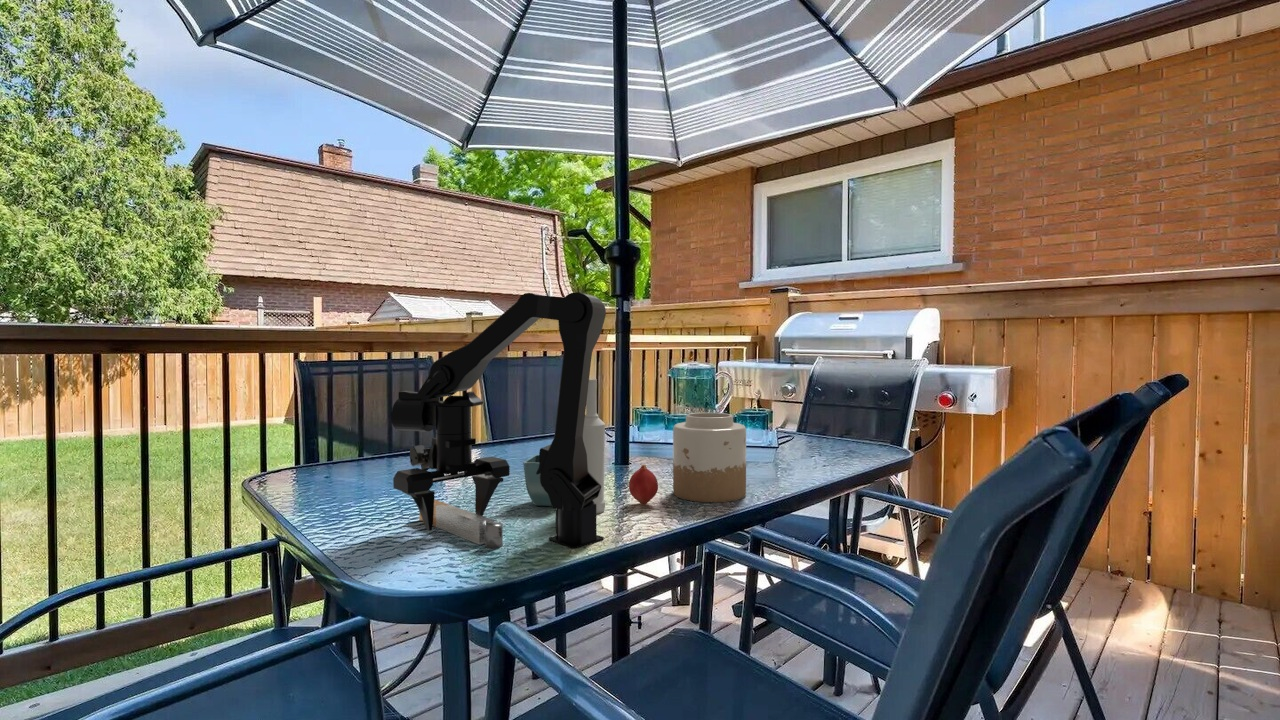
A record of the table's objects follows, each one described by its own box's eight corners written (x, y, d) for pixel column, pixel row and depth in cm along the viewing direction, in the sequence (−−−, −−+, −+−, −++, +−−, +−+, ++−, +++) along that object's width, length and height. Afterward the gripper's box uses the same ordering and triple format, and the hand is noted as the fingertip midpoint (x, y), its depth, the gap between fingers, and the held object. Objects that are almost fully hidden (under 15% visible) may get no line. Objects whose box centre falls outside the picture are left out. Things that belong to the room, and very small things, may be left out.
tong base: (506, 547, 97) (506, 524, 96) (491, 551, 95) (491, 528, 95) (433, 518, 113) (432, 498, 113) (419, 521, 111) (419, 501, 111)
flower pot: (577, 498, 127) (576, 455, 127) (567, 510, 118) (567, 463, 118) (535, 497, 128) (534, 454, 128) (522, 508, 119) (522, 462, 119)
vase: (708, 482, 142) (708, 409, 141) (761, 494, 130) (761, 415, 130) (658, 492, 132) (658, 414, 132) (710, 507, 120) (710, 421, 120)
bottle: (594, 515, 114) (594, 380, 114) (572, 511, 117) (571, 379, 116) (610, 509, 119) (610, 378, 118) (589, 505, 121) (588, 378, 121)
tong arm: (486, 543, 98) (486, 520, 98) (479, 544, 97) (479, 522, 97) (425, 518, 112) (425, 498, 112) (419, 519, 111) (419, 499, 111)
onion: (624, 502, 124) (624, 462, 124) (651, 499, 126) (651, 460, 126) (634, 509, 118) (634, 468, 118) (662, 506, 121) (662, 465, 120)
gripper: (477, 423, 117) (477, 505, 117) (378, 433, 103) (379, 526, 104) (511, 428, 109) (511, 516, 109) (408, 440, 96) (410, 541, 96)
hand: (454, 524), depth 105 cm, fingers open, 9 cm apart
